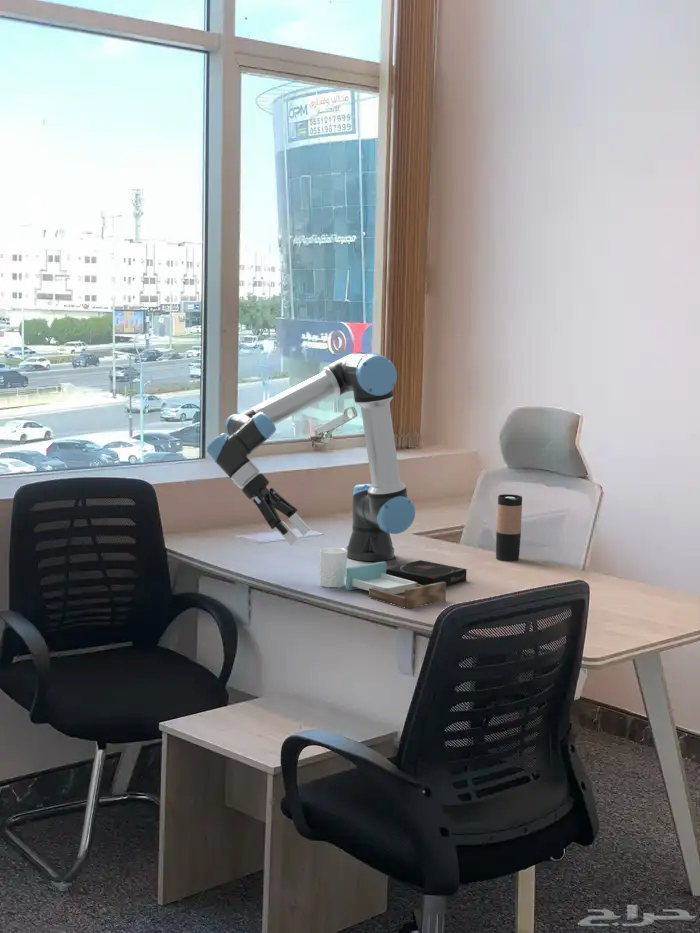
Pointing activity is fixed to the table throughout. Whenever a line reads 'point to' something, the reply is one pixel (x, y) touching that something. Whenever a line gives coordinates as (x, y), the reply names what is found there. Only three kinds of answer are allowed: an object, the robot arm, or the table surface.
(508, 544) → the travel mug
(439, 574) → the portable cd player
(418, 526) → the table surface
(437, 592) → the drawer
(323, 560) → the white cup
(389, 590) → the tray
